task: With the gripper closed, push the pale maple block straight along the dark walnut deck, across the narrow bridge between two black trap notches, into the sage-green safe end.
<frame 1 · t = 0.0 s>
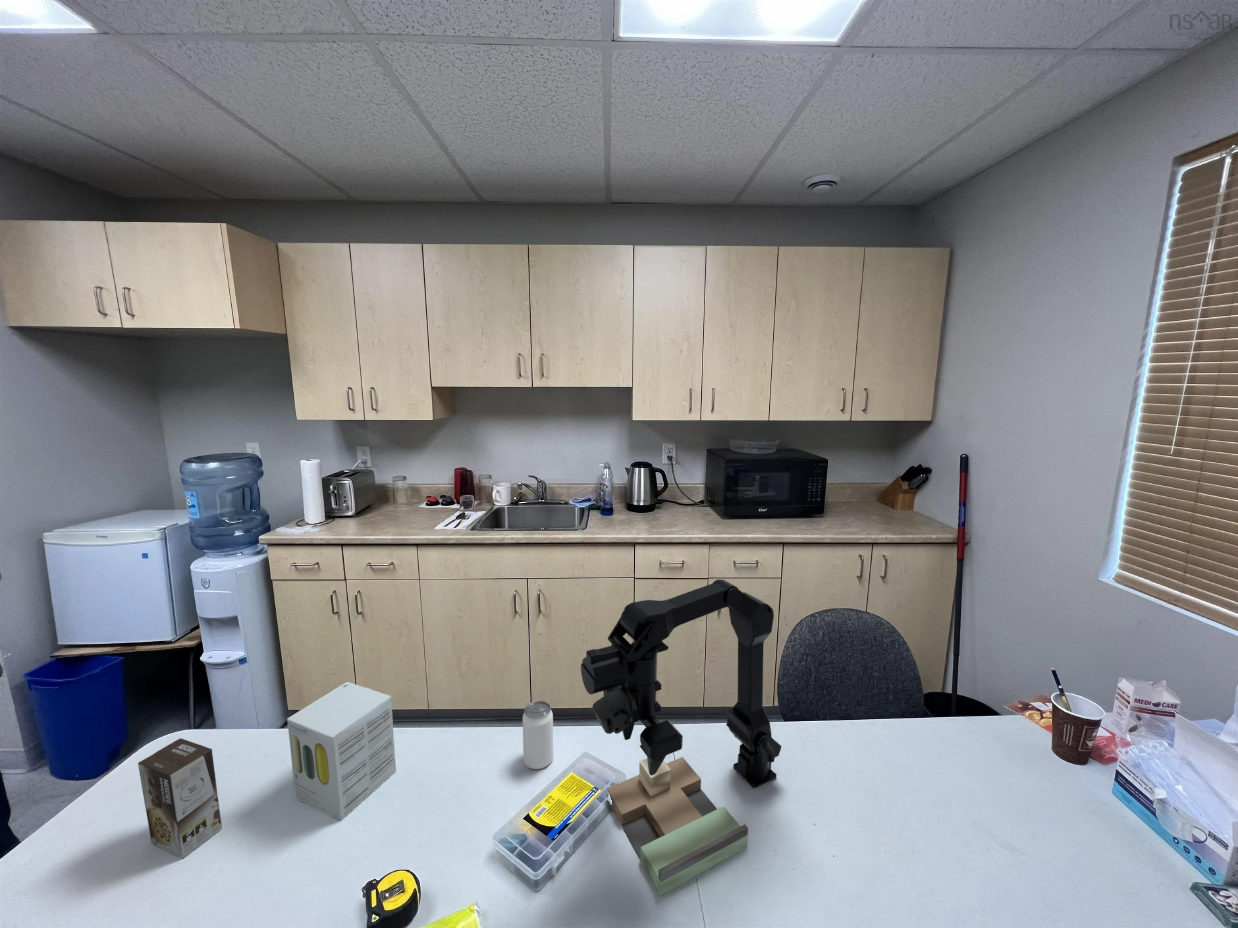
hand: (639, 755, 83), 15 cm above the table, tool pointing down, fingers open, 9 cm apart
can: (538, 759, 101), on the table
supplement box: (347, 785, 95), on the table
coffee box: (187, 836, 83), on the table
maple block: (654, 783, 92), point 2 cm above the table, touching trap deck
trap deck: (673, 821, 87), on the table
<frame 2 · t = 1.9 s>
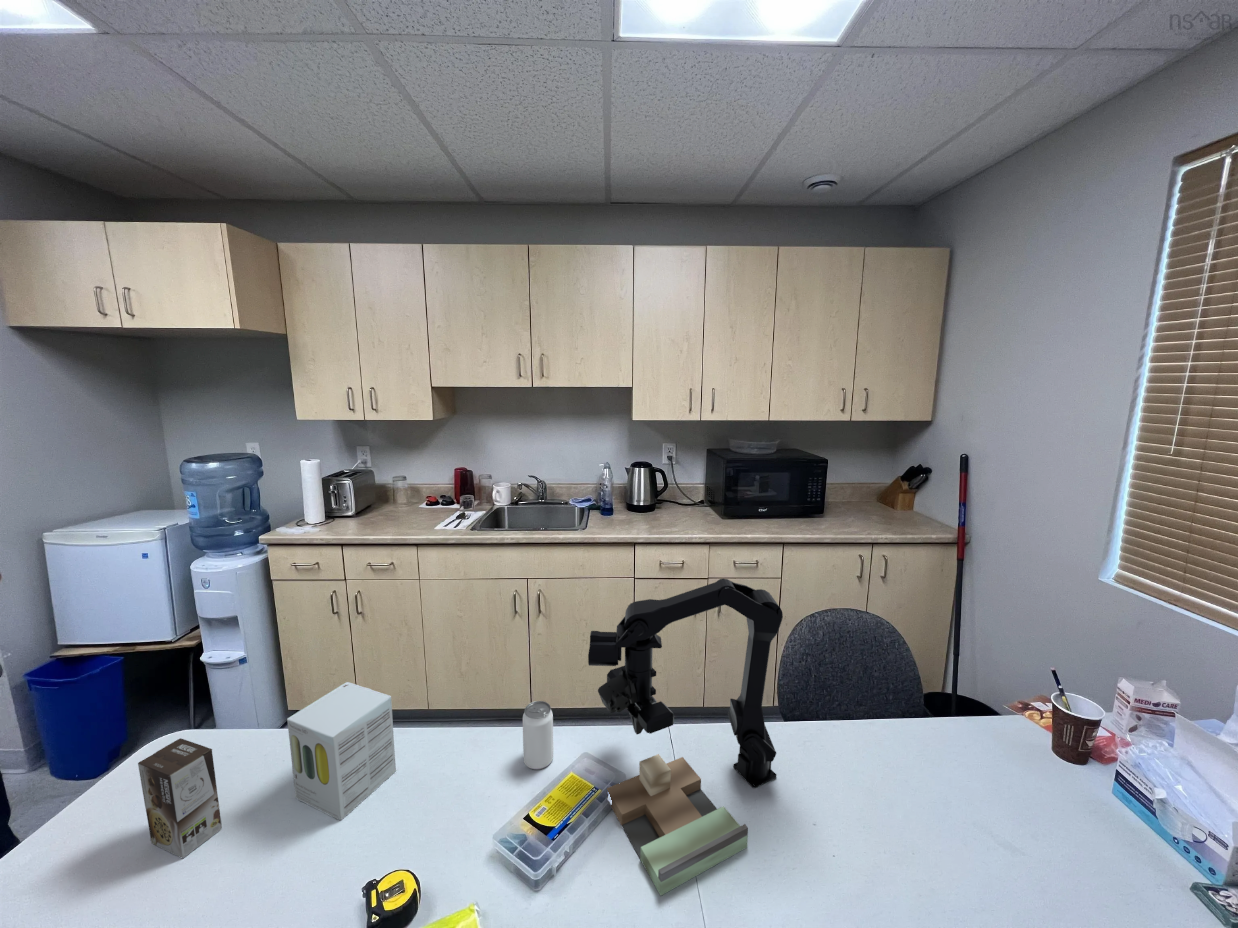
hand: (637, 732, 98), 9 cm above the table, tool pointing down, fingers closed
nothing on the table moved.
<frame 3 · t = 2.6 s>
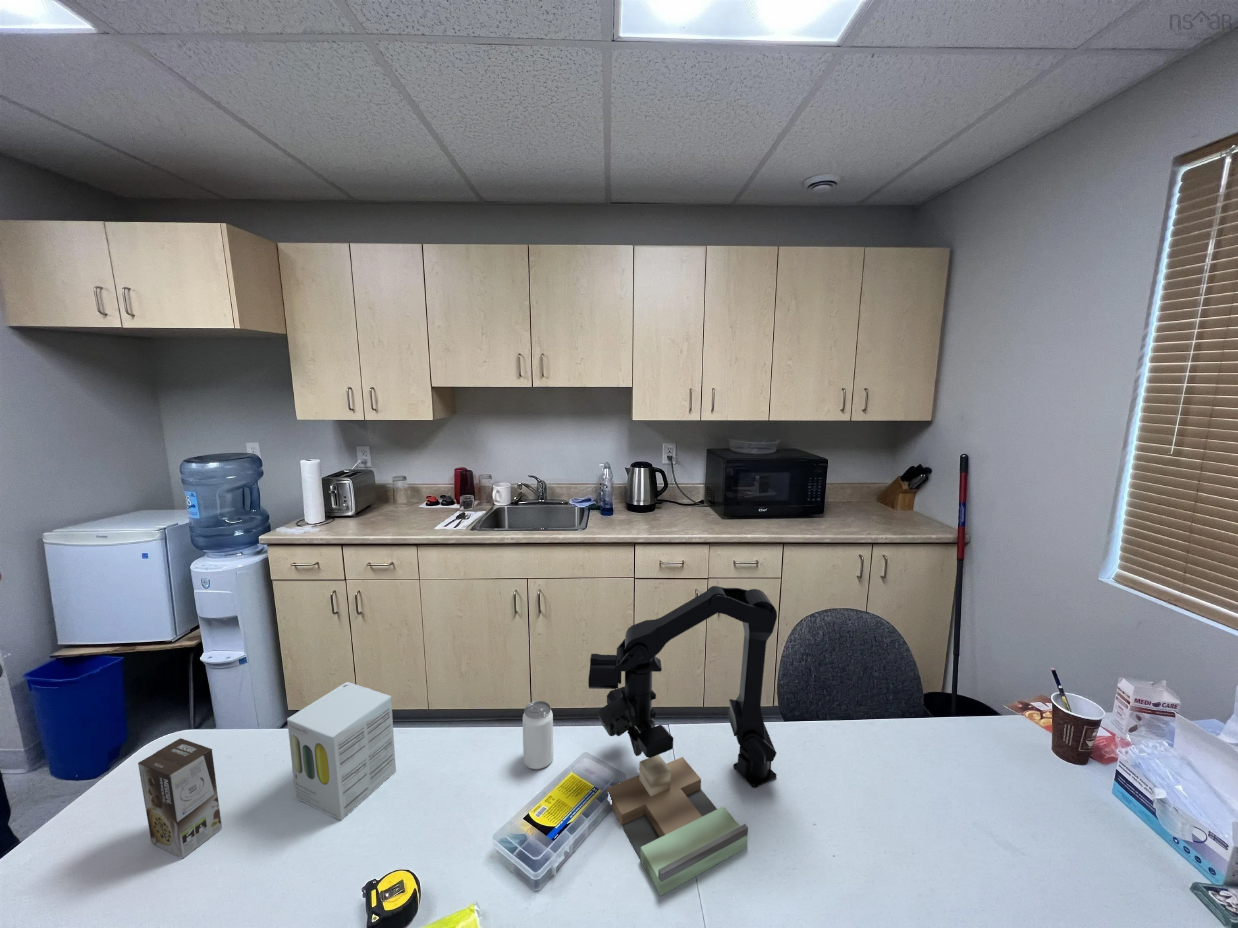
hand: (637, 754, 98), 3 cm above the table, tool pointing down, fingers closed
nothing on the table moved.
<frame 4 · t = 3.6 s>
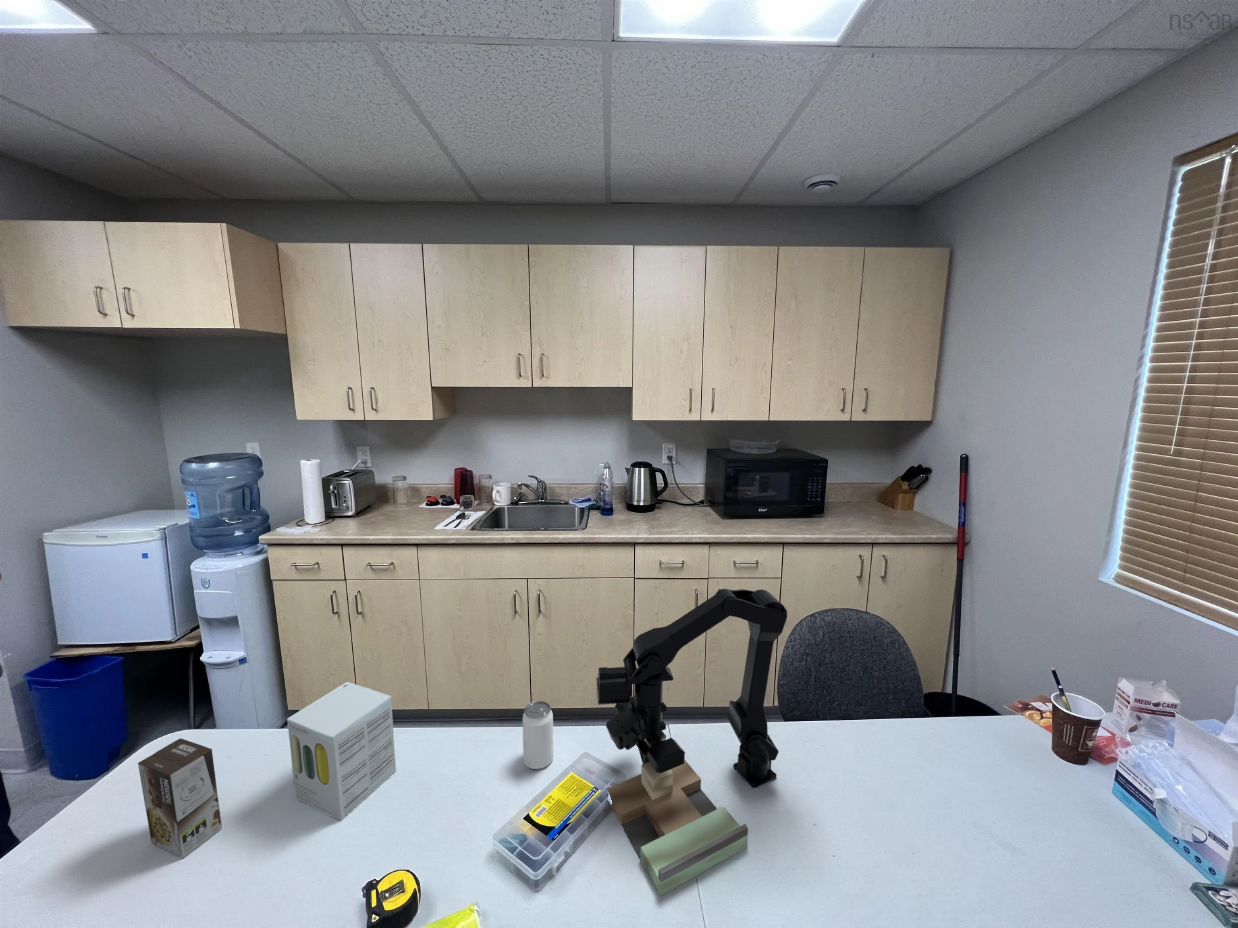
hand: (646, 767, 95), 4 cm above the table, tool pointing down, fingers closed
maple block: (656, 786, 91), point 3 cm above the table, touching gripper
everything else where it was.
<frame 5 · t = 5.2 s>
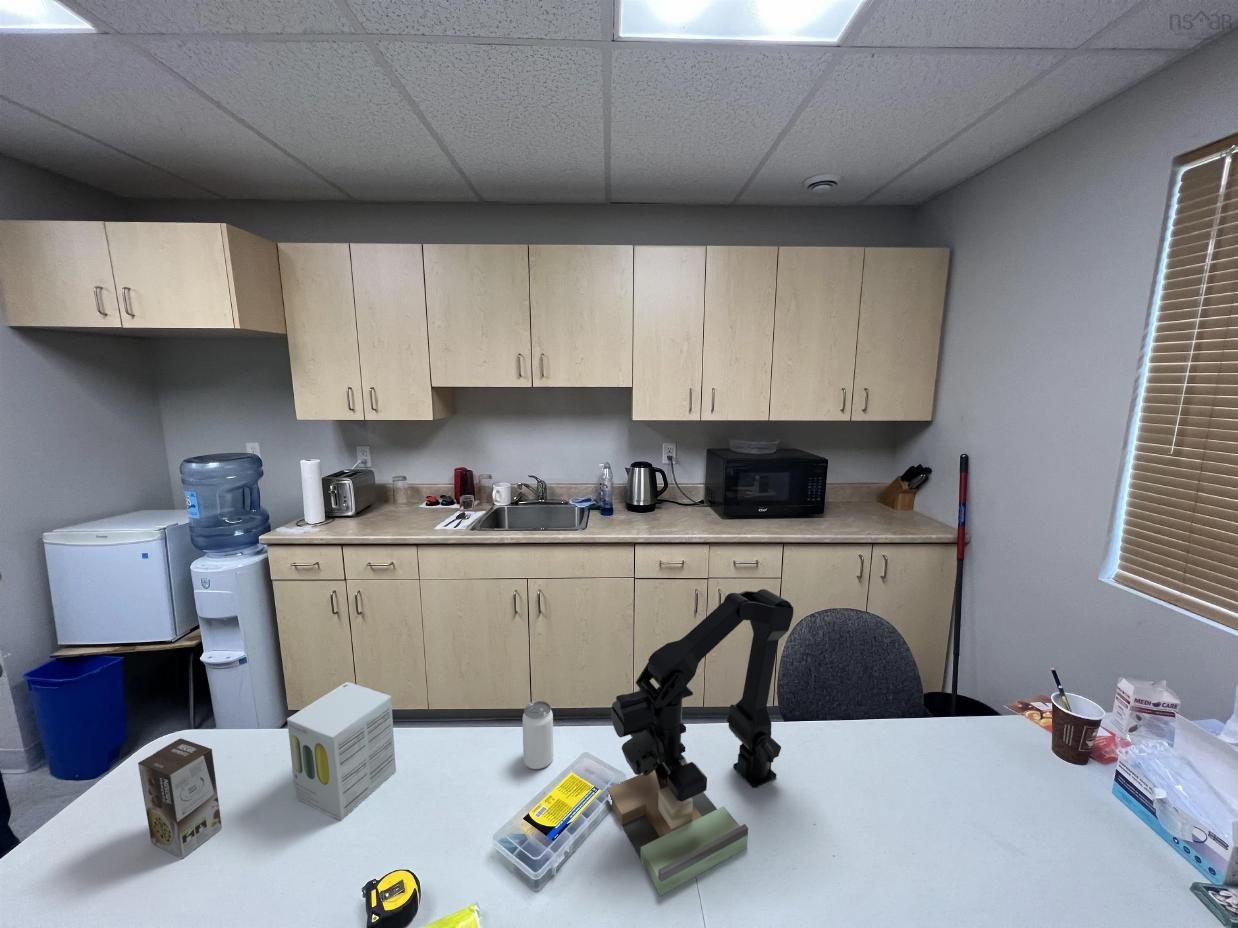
hand: (664, 792, 89), 4 cm above the table, tool pointing down, fingers closed
maple block: (675, 814, 85), point 2 cm above the table, touching gripper, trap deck
everything else where it was.
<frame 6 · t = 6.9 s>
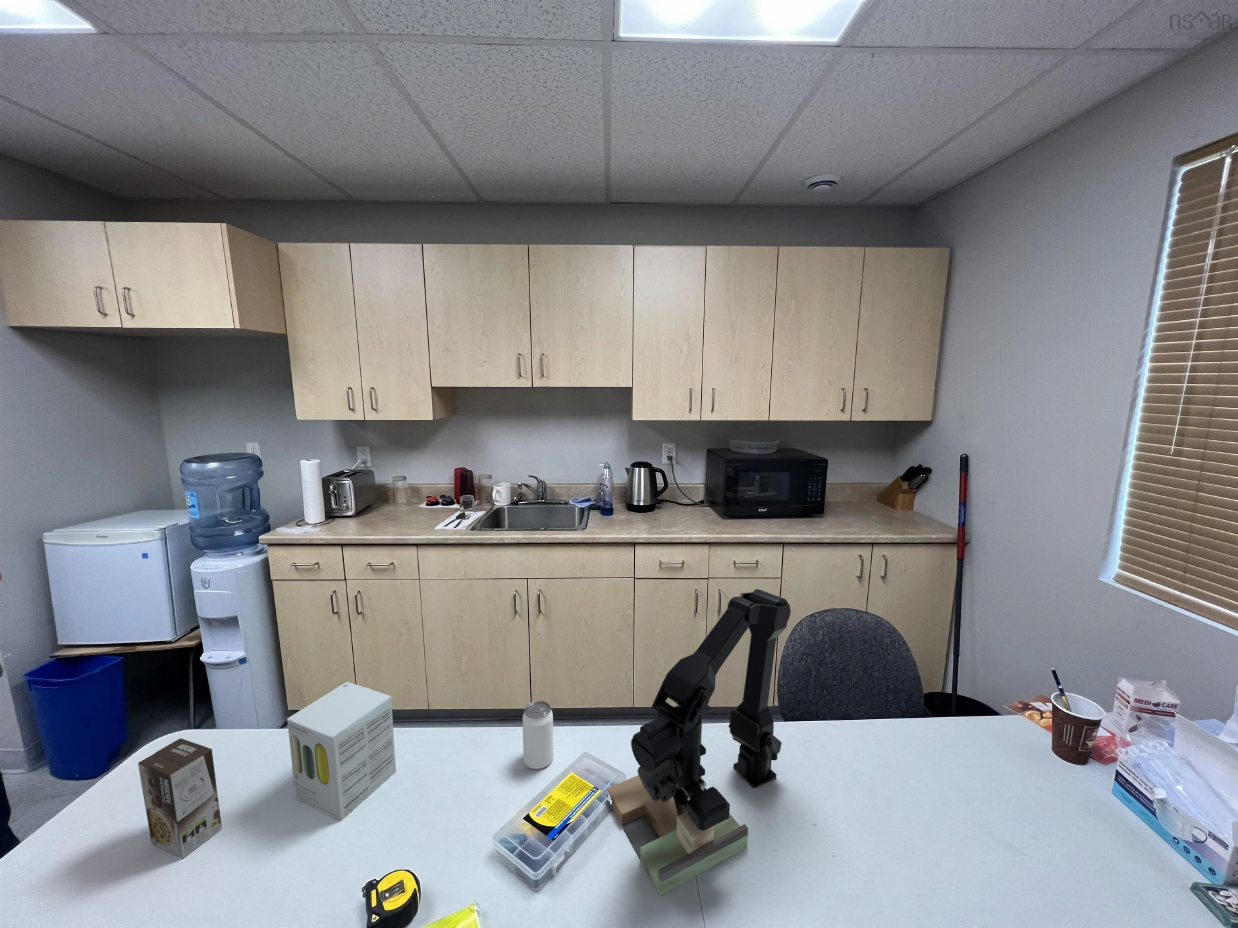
hand: (682, 817, 84), 4 cm above the table, tool pointing down, fingers closed
maple block: (694, 841, 80), point 2 cm above the table, touching gripper, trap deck
everything else where it was.
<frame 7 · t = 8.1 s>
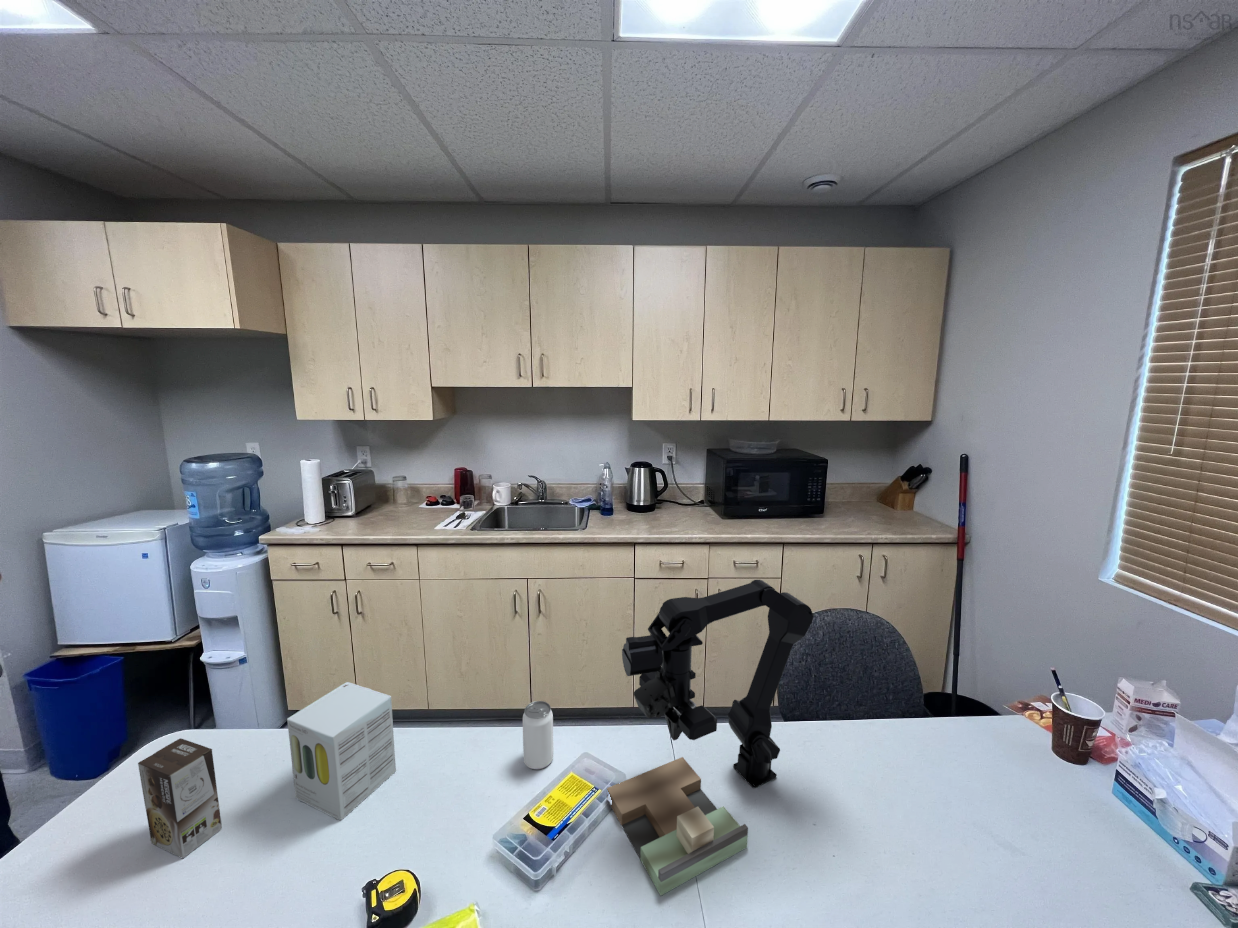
hand: (674, 738, 92), 12 cm above the table, tool pointing down, fingers closed
maple block: (694, 841, 80), point 2 cm above the table, touching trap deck
everything else where it was.
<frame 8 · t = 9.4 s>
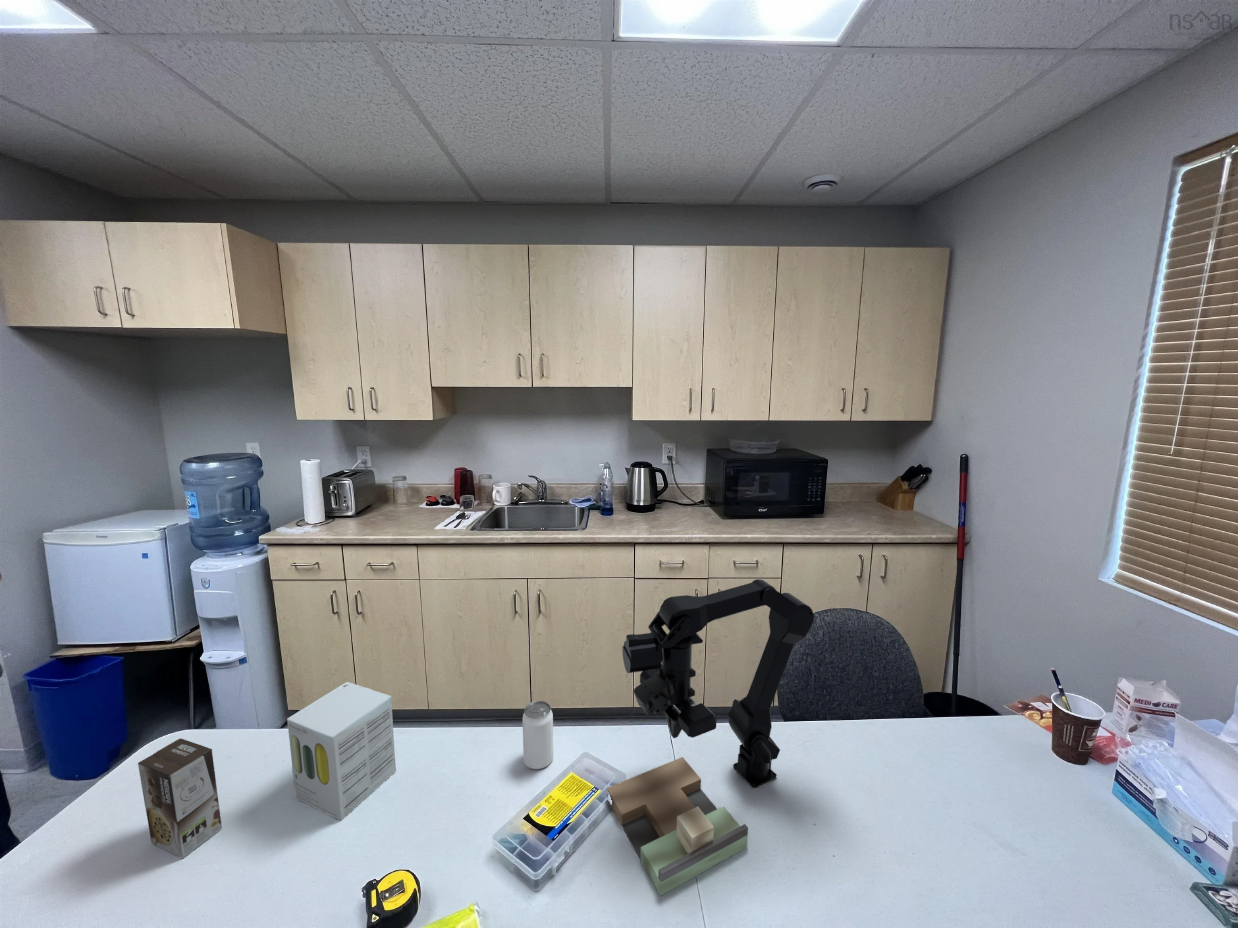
hand: (674, 736, 92), 12 cm above the table, tool pointing down, fingers closed
nothing on the table moved.
at the end: maple block 0.4 cm from the target spot on the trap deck, point 2.5 cm above the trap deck's base; maple block tilted 0° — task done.
